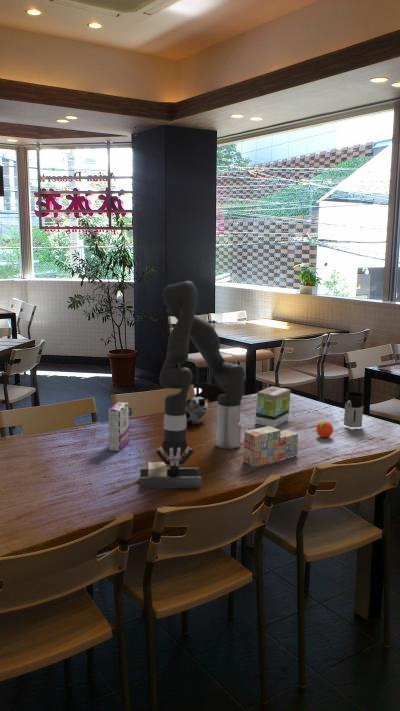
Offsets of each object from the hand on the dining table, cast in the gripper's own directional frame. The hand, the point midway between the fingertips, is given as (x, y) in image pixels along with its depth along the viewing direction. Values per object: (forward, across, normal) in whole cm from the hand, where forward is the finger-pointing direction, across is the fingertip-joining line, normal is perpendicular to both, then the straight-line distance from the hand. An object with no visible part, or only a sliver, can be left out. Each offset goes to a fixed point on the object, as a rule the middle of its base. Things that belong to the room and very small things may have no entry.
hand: (174, 475), depth 204 cm
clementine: (+3, -66, -44) cm, 79 cm away
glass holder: (+3, -82, -56) cm, 99 cm away
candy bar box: (+3, +19, -36) cm, 41 cm away
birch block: (+1, +6, 0) cm, 6 cm away
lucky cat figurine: (+3, -12, -68) cm, 69 cm away
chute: (+3, +1, 0) cm, 3 cm away
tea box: (+3, -49, -66) cm, 82 cm away
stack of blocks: (+3, -38, -20) cm, 43 cm away
